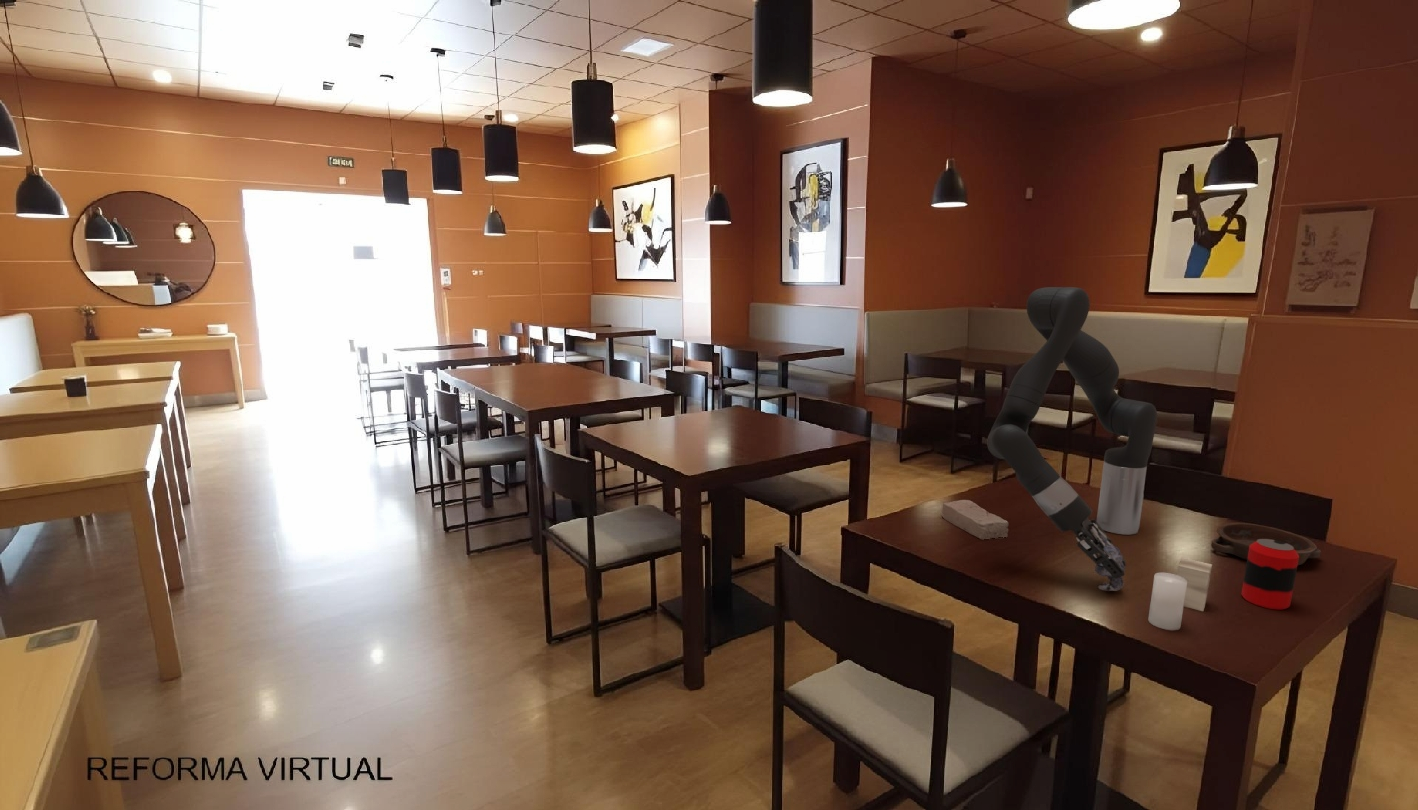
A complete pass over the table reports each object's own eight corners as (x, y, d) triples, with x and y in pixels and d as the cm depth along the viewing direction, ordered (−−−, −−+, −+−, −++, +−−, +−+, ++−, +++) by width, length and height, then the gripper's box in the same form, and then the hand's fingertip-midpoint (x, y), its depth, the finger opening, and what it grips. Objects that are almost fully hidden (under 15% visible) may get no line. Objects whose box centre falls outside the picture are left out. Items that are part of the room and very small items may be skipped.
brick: (1009, 538, 167) (1011, 519, 167) (981, 541, 165) (982, 523, 164) (966, 515, 183) (968, 498, 182) (939, 518, 181) (941, 501, 180)
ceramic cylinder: (1157, 614, 130) (1163, 570, 128) (1185, 625, 126) (1192, 580, 124) (1142, 620, 127) (1148, 575, 126) (1171, 632, 123) (1178, 586, 121)
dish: (1189, 539, 167) (1192, 519, 166) (1287, 543, 164) (1290, 524, 163) (1233, 569, 150) (1237, 548, 149) (1344, 575, 147) (1348, 554, 146)
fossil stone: (1112, 598, 136) (1118, 551, 134) (1087, 587, 141) (1092, 541, 139) (1128, 592, 138) (1134, 546, 137) (1103, 582, 143) (1108, 537, 141)
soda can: (1295, 603, 134) (1306, 546, 132) (1281, 614, 130) (1291, 555, 128) (1250, 589, 140) (1259, 534, 138) (1234, 598, 136) (1243, 542, 134)
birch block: (1175, 594, 138) (1181, 557, 136) (1206, 602, 135) (1212, 564, 133) (1172, 603, 134) (1178, 565, 133) (1203, 611, 131) (1209, 572, 129)
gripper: (1072, 503, 134) (1137, 575, 130) (1080, 484, 146) (1139, 550, 141) (1040, 523, 138) (1101, 594, 134) (1050, 503, 150) (1107, 568, 145)
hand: (1120, 571), depth 138 cm, fingers closed on fossil stone, 4 cm apart
